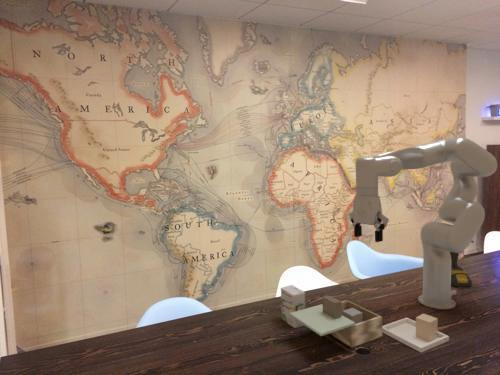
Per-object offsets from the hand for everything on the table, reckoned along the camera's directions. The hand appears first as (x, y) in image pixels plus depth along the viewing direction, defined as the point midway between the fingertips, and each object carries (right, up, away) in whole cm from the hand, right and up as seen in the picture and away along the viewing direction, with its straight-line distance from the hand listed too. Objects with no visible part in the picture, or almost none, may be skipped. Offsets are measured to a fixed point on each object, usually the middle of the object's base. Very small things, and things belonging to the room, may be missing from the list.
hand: (368, 238), depth 127 cm
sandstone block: (+13, -28, -17) cm, 35 cm away
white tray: (+9, -29, -16) cm, 34 cm away
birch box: (-10, -29, -12) cm, 33 cm away
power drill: (+49, -24, +28) cm, 61 cm away
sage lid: (-21, -22, -18) cm, 35 cm away
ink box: (-27, -29, -3) cm, 40 cm away
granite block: (-9, -28, -11) cm, 32 cm away
